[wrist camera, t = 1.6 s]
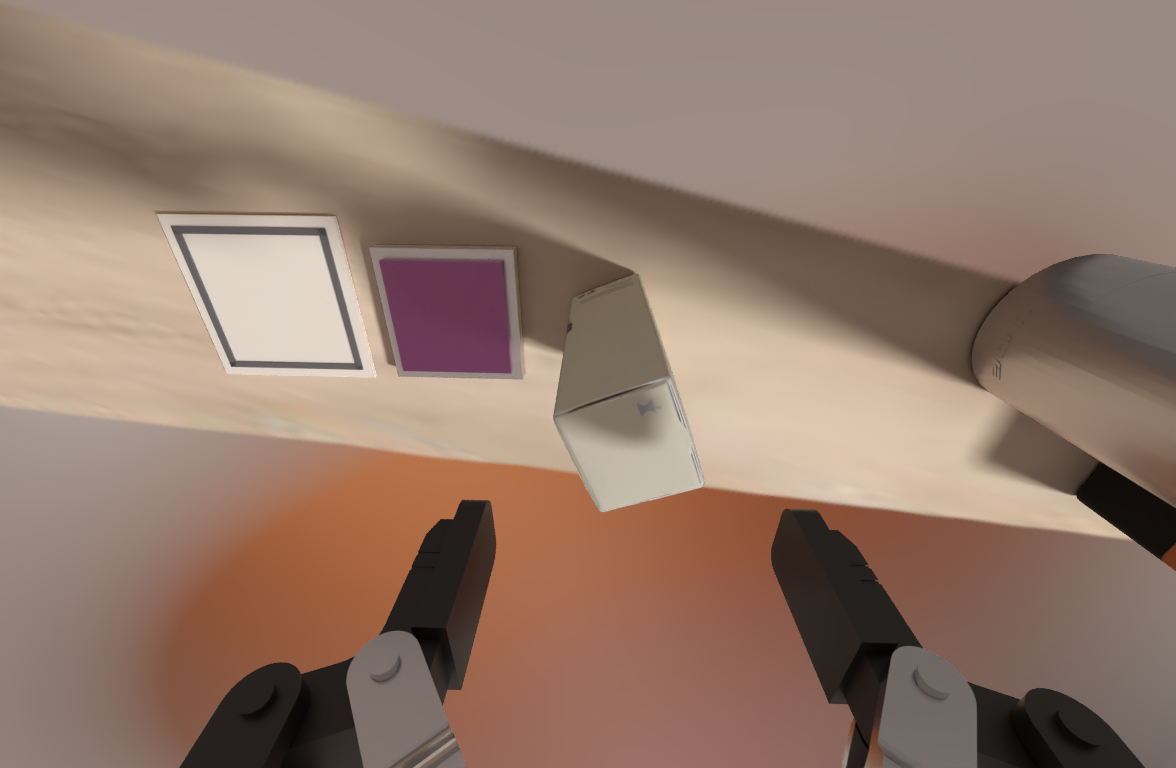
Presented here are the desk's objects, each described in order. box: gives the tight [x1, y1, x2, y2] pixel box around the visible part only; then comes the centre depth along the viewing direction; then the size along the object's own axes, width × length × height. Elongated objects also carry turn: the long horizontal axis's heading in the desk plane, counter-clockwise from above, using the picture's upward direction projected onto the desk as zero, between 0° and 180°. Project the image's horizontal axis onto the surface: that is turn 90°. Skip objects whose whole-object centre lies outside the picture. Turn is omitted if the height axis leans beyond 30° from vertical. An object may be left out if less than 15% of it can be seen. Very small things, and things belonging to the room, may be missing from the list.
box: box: [553, 274, 704, 512], centre depth 21 cm, size 5×4×13 cm
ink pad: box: [369, 244, 525, 379], centre depth 26 cm, size 8×8×1 cm
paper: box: [157, 214, 377, 378], centre depth 26 cm, size 10×10×1 cm
